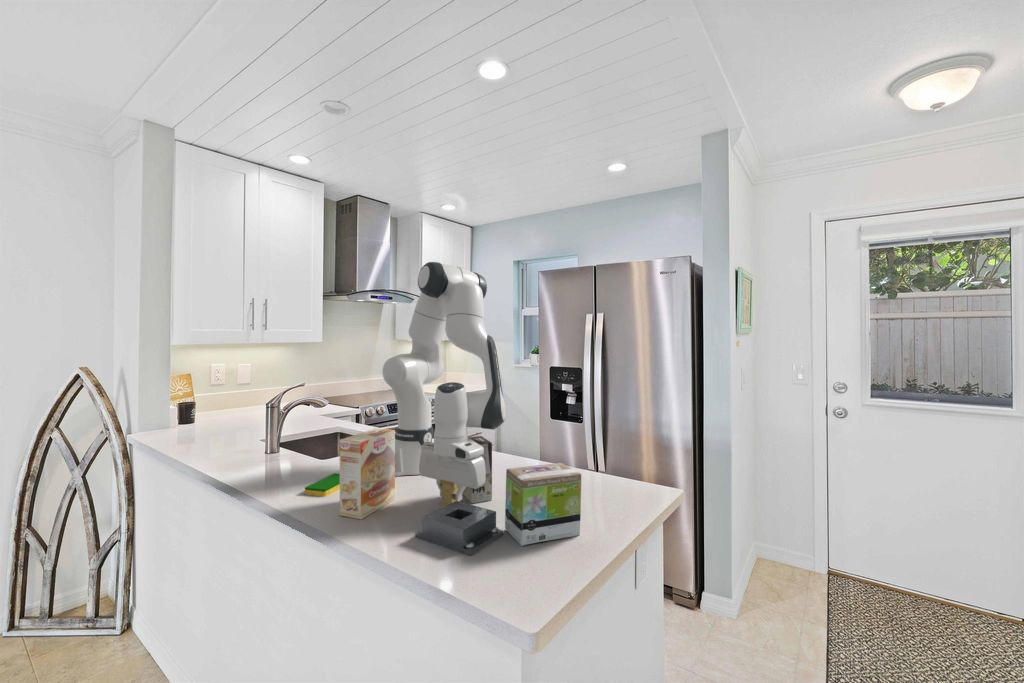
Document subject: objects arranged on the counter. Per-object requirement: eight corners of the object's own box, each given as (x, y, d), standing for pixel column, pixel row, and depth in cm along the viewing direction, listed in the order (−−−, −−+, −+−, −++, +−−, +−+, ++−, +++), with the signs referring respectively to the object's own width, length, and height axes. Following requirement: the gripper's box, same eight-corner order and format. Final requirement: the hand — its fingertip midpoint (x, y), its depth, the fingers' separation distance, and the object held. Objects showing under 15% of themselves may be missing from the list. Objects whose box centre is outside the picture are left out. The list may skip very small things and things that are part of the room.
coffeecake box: (361, 520, 117) (361, 441, 116) (338, 516, 119) (337, 439, 118) (396, 499, 131) (396, 429, 130) (375, 496, 133) (374, 427, 132)
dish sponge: (354, 482, 146) (354, 474, 146) (325, 498, 133) (325, 489, 133) (334, 480, 148) (334, 472, 148) (303, 495, 134) (303, 487, 134)
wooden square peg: (440, 510, 123) (440, 479, 123) (450, 505, 126) (450, 475, 126) (451, 513, 121) (451, 482, 121) (461, 508, 124) (461, 478, 124)
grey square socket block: (415, 536, 107) (415, 515, 107) (450, 519, 117) (450, 499, 117) (470, 555, 98) (470, 532, 98) (503, 534, 108) (503, 513, 108)
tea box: (522, 548, 102) (522, 480, 101) (504, 529, 111) (504, 467, 111) (581, 536, 108) (582, 472, 107) (560, 519, 117) (560, 460, 117)
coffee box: (493, 500, 130) (493, 442, 129) (471, 504, 127) (470, 444, 127) (481, 489, 138) (481, 435, 138) (460, 493, 136) (460, 437, 135)
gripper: (413, 442, 126) (413, 493, 127) (473, 454, 115) (474, 510, 115) (429, 438, 131) (430, 487, 132) (489, 448, 120) (489, 502, 121)
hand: (451, 498), depth 123 cm, fingers closed on wooden square peg, 3 cm apart
